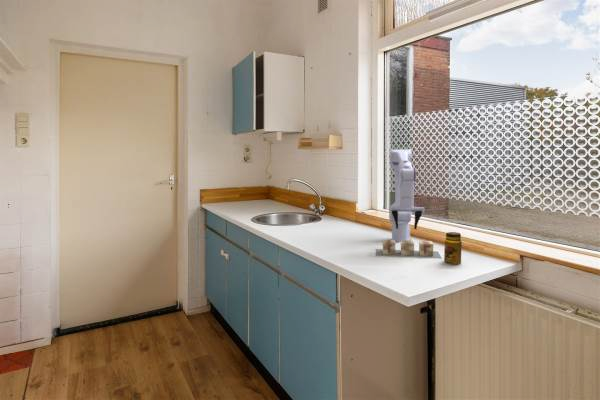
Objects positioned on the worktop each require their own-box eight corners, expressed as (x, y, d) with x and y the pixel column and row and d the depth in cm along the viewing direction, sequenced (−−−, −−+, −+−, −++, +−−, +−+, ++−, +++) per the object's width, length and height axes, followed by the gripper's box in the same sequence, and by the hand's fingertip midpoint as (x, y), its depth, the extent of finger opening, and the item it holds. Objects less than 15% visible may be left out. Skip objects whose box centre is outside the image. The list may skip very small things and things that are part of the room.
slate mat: (437, 252, 164) (437, 251, 164) (441, 259, 154) (442, 258, 153) (375, 250, 169) (375, 249, 169) (375, 257, 159) (375, 255, 159)
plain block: (412, 252, 163) (413, 240, 163) (413, 255, 158) (414, 243, 158) (400, 251, 164) (400, 240, 164) (401, 254, 159) (401, 243, 159)
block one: (394, 251, 165) (394, 239, 164) (395, 254, 160) (395, 242, 159) (382, 251, 166) (382, 239, 165) (382, 254, 161) (383, 242, 160)
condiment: (442, 265, 146) (443, 234, 145) (443, 259, 154) (444, 230, 153) (462, 267, 143) (464, 235, 142) (463, 261, 151) (464, 231, 150)
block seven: (431, 253, 162) (431, 241, 161) (433, 256, 157) (433, 244, 156) (419, 252, 163) (419, 240, 162) (420, 255, 158) (420, 243, 157)
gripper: (389, 197, 160) (388, 230, 161) (425, 198, 157) (425, 230, 158) (388, 195, 166) (388, 226, 168) (424, 196, 164) (423, 227, 165)
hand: (406, 228), depth 164 cm, fingers open, 7 cm apart
